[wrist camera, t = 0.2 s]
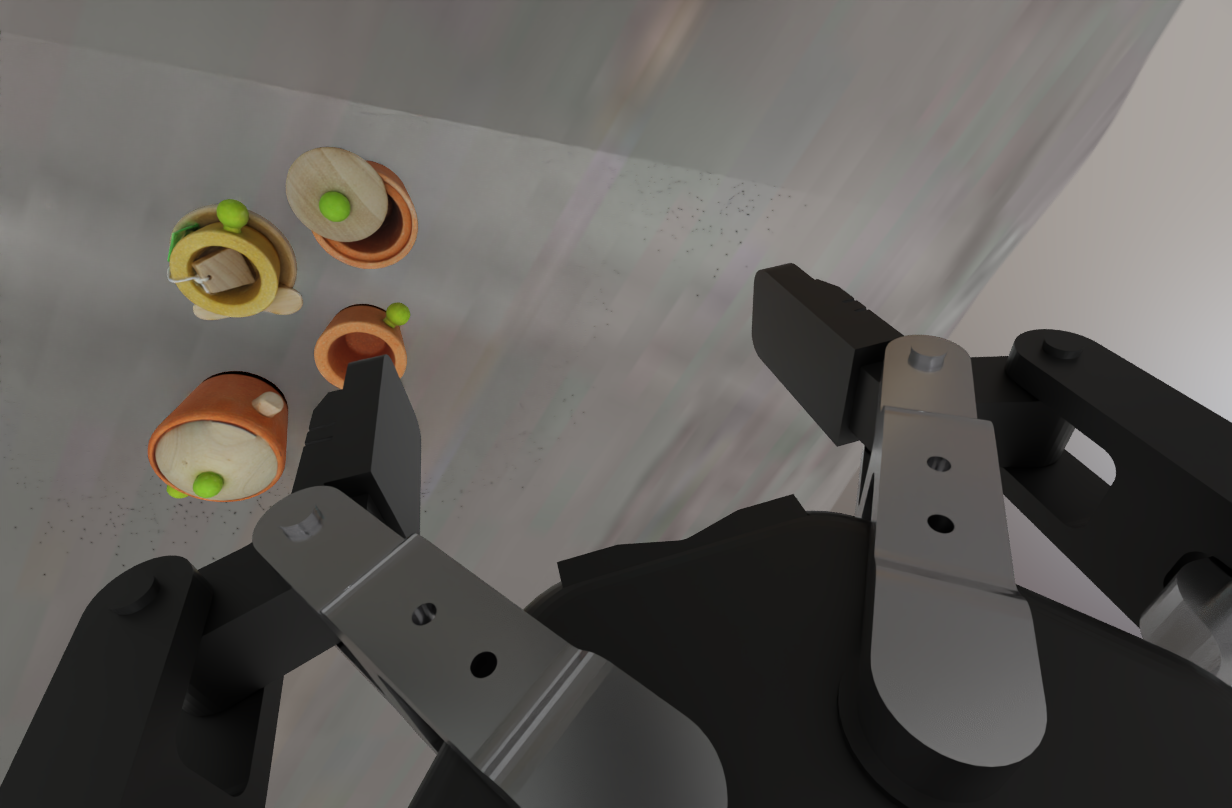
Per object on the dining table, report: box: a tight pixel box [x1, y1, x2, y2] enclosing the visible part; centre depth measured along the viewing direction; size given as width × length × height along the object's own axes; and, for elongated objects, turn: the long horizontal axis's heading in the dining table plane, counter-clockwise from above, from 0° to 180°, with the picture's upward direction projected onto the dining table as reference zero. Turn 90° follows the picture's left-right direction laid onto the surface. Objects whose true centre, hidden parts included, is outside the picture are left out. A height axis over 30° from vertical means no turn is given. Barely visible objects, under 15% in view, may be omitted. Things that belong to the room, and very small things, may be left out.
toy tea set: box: [148, 147, 418, 502], centre depth 35 cm, size 26×16×10 cm, turn 163°
